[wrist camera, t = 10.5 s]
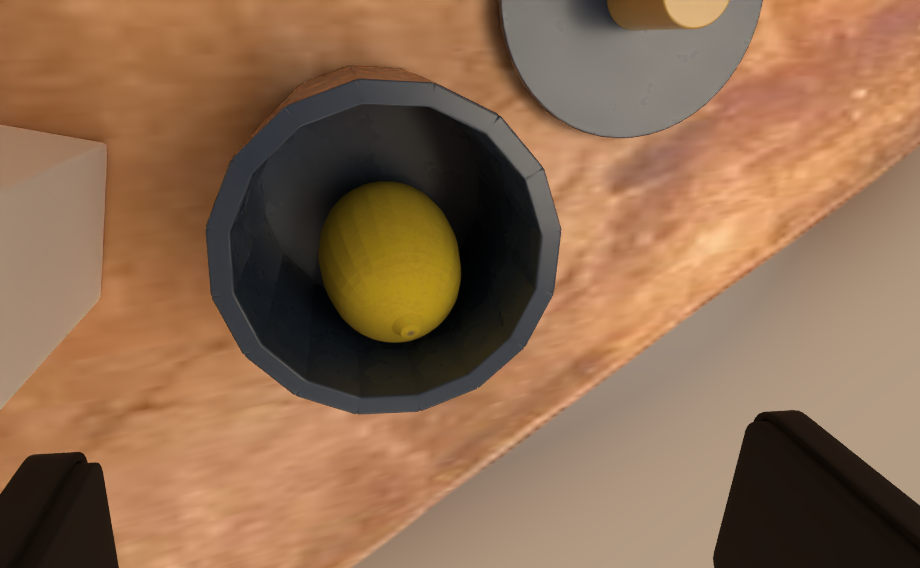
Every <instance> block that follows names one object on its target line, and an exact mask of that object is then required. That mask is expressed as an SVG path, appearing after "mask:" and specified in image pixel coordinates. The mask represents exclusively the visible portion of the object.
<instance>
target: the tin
mask: <svg viewBox="0 0 920 568" xmlns="http://www.w3.org/2000/svg"><path fill="white" fill-rule="evenodd" d="M377 181H394V182H398V183H403V184H407V185H409V186H412V187H413V188H415V189H417V190H419V191H421V192H423V193H424V194H426V195H427V196H428V197H429V198H430V199H431V200H432V201H433V202H434V203H435V204H436V205H437V206H438V207H439V208H440V209H441V210H442V212H443V213H444V215H445V217H446V219H447V220H448V222H449V224H450V226H451V228H452V230H453V232H454V234H455V237H456V240H457V245H458V250H459V257H460V264H461V281H460V286H459V291H458V296H457V299H456V302H455V304H454V306H453V308H452V310H451V311H450V313H449V315H448V316H447V317H446V318H445V319H444V321H443V322H442V323H441V324H440V325H439V326H438V327H436V328H435V329H434V330H432V331H431V332H430V333H428V334H426V335H424V336H422V337H420V338H418V339H414V340H411V341H407V342H400V343H389V342H383V341H378V340H374V339H371V338H369V337H367V336H364V335H362V334H360V333H359V332H357V331H356V330H354V329H353V328H352V327H351V326H350V325H349V324H347V323H346V322H345V321H344V319H343V318H342V317H341V316H340V314H339V313H338V311H337V310H336V308H335V306H334V305H333V303H332V301H331V300H330V298H329V296H328V294H327V292H326V289H325V287H324V284H323V280H322V275H321V270H320V265H319V258H318V251H319V242H320V236H321V231H322V227H323V225H324V222H325V220H326V218H327V216H328V214H329V212H330V210H331V209H332V208H333V207H334V205H335V204H336V203H337V202H338V201H339V200H340V199H341V197H343V196H344V195H346V194H347V193H348V192H350V191H351V190H353V189H355V188H357V187H359V186H362V185H364V184H367V183H372V182H377ZM206 227H207V228H206V242H207V254H208V266H209V278H210V291H211V296H212V299H213V301H214V303H215V305H216V306H217V308H218V310H219V312H220V314H221V315H222V317H223V319H224V321H225V323H226V324H227V326H228V328H229V330H230V332H231V333H232V335H233V337H234V339H235V341H236V342H237V344H238V346H239V348H240V350H241V351H242V353H243V354H245V356H246V357H247V358H248V359H249V360H250V361H252V362H253V363H254V364H255V365H257V366H258V367H259V368H261V369H262V370H263V371H264V372H266V373H267V374H268V375H269V376H271V377H272V378H273V379H275V380H276V381H277V382H278V383H280V384H281V385H282V386H284V387H285V388H286V389H287V390H289V391H290V392H291V393H292V394H294V395H296V396H298V397H301V398H304V399H308V400H311V401H314V402H317V403H321V404H324V405H327V406H330V407H334V408H337V409H340V410H343V411H347V412H350V413H353V414H356V413H357V414H379V413H400V412H418V411H419V410H420V411H423V410H425V409H428V408H430V407H433V406H435V405H438V404H440V403H443V402H445V401H448V400H450V399H452V398H455V397H457V396H460V395H462V394H465V393H467V392H470V391H472V390H475V389H477V387H478V388H479V387H480V386H481V385H482V384H484V383H485V382H486V381H487V380H488V379H489V378H490V377H492V376H493V375H494V374H495V373H496V372H497V371H498V370H500V369H501V368H502V367H503V366H504V365H505V364H506V363H507V362H509V361H510V360H511V359H512V358H513V357H514V356H515V355H517V354H518V353H519V352H520V351H521V350H522V349H523V348H524V347H525V346H526V344H527V342H528V340H529V339H530V337H531V335H532V333H533V331H534V329H535V327H536V326H537V324H538V322H539V320H540V318H541V316H542V315H543V313H544V311H545V309H546V307H547V305H548V303H549V302H550V300H551V298H552V296H553V292H554V288H555V279H556V271H557V262H558V254H559V246H560V237H561V226H560V223H559V219H558V216H557V212H556V209H555V205H554V202H553V198H552V195H551V191H550V188H549V185H548V181H547V178H546V174H545V171H544V169H543V167H542V165H541V164H540V163H539V162H538V161H537V159H536V158H535V157H534V156H533V154H532V153H531V152H530V151H529V150H528V148H527V147H526V146H525V145H524V144H523V142H522V141H521V140H520V139H519V138H518V136H517V135H516V134H515V133H514V132H513V130H512V129H511V128H510V127H509V126H508V124H507V123H506V122H505V121H504V120H503V118H502V117H501V116H499V115H498V114H497V113H495V112H493V111H491V110H489V109H487V108H485V107H483V106H481V105H479V104H477V103H475V102H473V101H471V100H469V99H467V98H465V97H463V96H461V95H459V94H457V93H455V92H453V91H451V90H449V89H447V88H445V87H443V86H441V85H439V84H437V83H434V82H432V81H430V80H427V79H425V78H423V77H420V76H418V75H416V74H413V73H411V72H409V71H407V70H404V69H401V68H385V67H367V66H347V67H345V68H342V69H339V70H337V71H334V72H331V73H327V74H325V75H322V76H320V77H318V78H315V79H313V80H310V81H307V82H305V83H302V84H301V85H299V86H298V87H297V88H296V89H295V90H294V91H293V92H292V93H291V94H290V95H289V96H288V97H287V98H286V99H285V100H284V101H283V102H282V103H281V104H280V105H279V106H278V107H277V108H276V109H275V110H274V111H273V112H272V113H271V114H270V115H269V116H268V117H267V118H266V119H265V120H264V121H263V122H262V123H261V124H260V126H259V127H258V128H257V129H256V130H255V131H254V133H253V134H252V135H251V136H250V137H249V139H248V140H247V141H246V142H245V143H244V144H243V146H242V147H241V148H240V149H239V150H238V152H237V153H236V154H235V155H234V156H233V157H232V160H231V161H230V163H229V165H228V168H227V171H226V173H225V176H224V179H223V181H222V184H221V187H220V189H219V192H218V195H217V197H216V200H215V203H214V205H213V208H212V211H211V214H210V216H209V219H208V222H207V224H206Z"/></svg>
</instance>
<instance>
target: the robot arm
mask: <svg viewBox="0 0 920 568" xmlns="http://www.w3.org/2000/svg"><path fill="white" fill-rule="evenodd" d="M713 562H714V568H920V505H918V504H917V503H916V502H915V501H913V500H912V499H911V498H910V497H908V496H907V495H906V494H905V493H903V492H902V491H901V490H900V489H898V488H897V487H896V486H895V485H893V484H892V483H891V482H890V481H888V480H887V479H886V478H885V477H883V476H882V475H881V474H880V473H878V472H877V471H875V470H874V469H873V468H872V467H871V466H869V465H868V464H867V463H866V462H864V461H863V460H862V459H861V458H859V457H858V456H857V455H856V454H854V453H853V452H852V451H851V450H849V449H848V448H847V447H846V446H844V445H843V444H842V443H841V442H839V441H838V440H837V439H836V438H834V437H833V436H832V435H831V434H829V433H828V432H827V431H826V430H824V429H823V428H822V427H821V426H819V425H818V424H817V423H816V422H814V421H813V420H812V419H810V418H809V417H808V416H807V415H805V414H804V413H802V412H800V411H795V410H789V411H772V412H763V413H760V414H758V415H757V417H756V418H755V419H754V422H752V423H750V424H749V425H748V426H747V429H746V431H745V435H744V438H743V442H742V446H741V450H740V454H739V458H738V462H737V465H736V469H735V473H734V478H733V481H732V485H731V489H730V493H729V497H728V501H727V504H726V508H725V512H724V516H723V520H722V524H721V527H720V531H719V535H718V539H717V543H716V547H715V551H714V556H713ZM0 568H119V566H118V560H117V554H116V548H115V542H114V536H113V530H112V524H111V518H110V512H109V506H108V500H107V494H106V488H105V482H104V476H103V471H102V467H101V465H100V464H99V463H87V459H86V457H85V455H84V454H83V453H81V452H71V453H54V454H36V455H31V456H28V457H27V458H26V459H25V461H24V462H23V463H22V464H21V466H20V467H19V469H18V470H17V472H16V473H15V474H14V476H13V477H12V479H11V480H10V481H9V483H8V484H7V486H6V487H5V488H4V490H3V491H2V493H1V494H0Z"/></svg>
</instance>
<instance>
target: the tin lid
mask: <svg viewBox="0 0 920 568" xmlns="http://www.w3.org/2000/svg"><path fill="white" fill-rule="evenodd" d="M762 1H763V0H498V8H499V18H500V27H501V31H502V36H503V40H504V45H505V47H506V50H507V53H508V56H509V59H510V61H511V64H512V66H513V68H514V70H515V71H516V73H517V75H518V77H519V79H520V81H521V82H522V84H523V85H524V86H525V88H526V89H527V91H528V92H529V94H530V95H531V96H532V97H533V98H534V99H535V100H536V101H537V102H538V103H539V105H540V106H541V107H543V108H544V109H545V110H546V111H547V112H549V113H550V114H551V115H552V116H553V117H555V118H557V119H558V120H560V121H562V122H563V123H565V124H567V125H569V126H571V127H573V128H576V129H578V130H580V131H583V132H586V133H590V134H593V135H597V136H602V137H611V138H633V137H638V136H644V135H649V134H652V133H655V132H659V131H662V130H665V129H667V128H669V127H671V126H673V125H675V124H678V123H679V122H681V121H683V120H684V119H686V118H688V117H689V116H691V115H692V114H694V113H695V112H696V111H698V110H699V109H700V108H701V107H703V106H704V105H705V104H706V103H708V102H709V101H710V100H711V99H712V98H713V97H714V96H715V95H716V94H717V93H718V92H719V91H720V89H721V88H722V87H723V86H724V84H725V83H726V82H727V81H728V79H729V78H730V77H731V76H732V74H733V73H734V71H735V69H736V68H737V66H738V65H739V63H740V62H741V60H742V58H743V56H744V54H745V52H746V50H747V48H748V46H749V44H750V42H751V39H752V36H753V34H754V31H755V28H756V26H757V22H758V18H759V14H760V11H761V7H762Z"/></svg>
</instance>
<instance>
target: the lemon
mask: <svg viewBox="0 0 920 568" xmlns="http://www.w3.org/2000/svg"><path fill="white" fill-rule="evenodd" d="M318 258H319V265H320V270H321V275H322V280H323V284H324V287H325V289H326V292H327V294H328V296H329V298H330V300H331V301H332V303H333V305H334V306H335V308H336V310H337V311H338V313H339V314H340V316H341V317H342V318H343V319H344V321H345V322H346V323H347V324H349V325H350V326H351V327H352V328H353V329H354V330H356V331H357V332H359V333H360V334H362V335H364V336H367V337H369V338H371V339H374V340H378V341H383V342H389V343H400V342H407V341H411V340H414V339H418V338H420V337H422V336H424V335H426V334H428V333H430V332H431V331H432V330H434V329H435V328H436V327H438V326H439V325H440V324H441V323H442V322H443V321H444V319H445V318H446V317H447V316H448V315H449V313H450V311H451V310H452V308H453V306H454V304H455V302H456V299H457V296H458V291H459V286H460V281H461V264H460V257H459V250H458V245H457V240H456V237H455V234H454V232H453V230H452V228H451V226H450V224H449V222H448V220H447V219H446V217H445V215H444V213H443V212H442V210H441V209H440V208H439V207H438V206H437V205H436V204H435V203H434V202H433V201H432V200H431V199H430V198H429V197H428V196H427V195H426V194H424V193H423V192H421V191H419V190H417V189H415V188H413V187H412V186H409V185H407V184H403V183H398V182H394V181H377V182H372V183H367V184H364V185H362V186H359V187H357V188H355V189H353V190H351V191H350V192H348V193H347V194H346V195H344V196H343V197H341V199H340V200H339V201H338V202H337V203H336V204H335V205H334V207H333V208H332V209H331V210H330V212H329V214H328V216H327V218H326V220H325V222H324V225H323V227H322V231H321V236H320V242H319V251H318Z"/></svg>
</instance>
